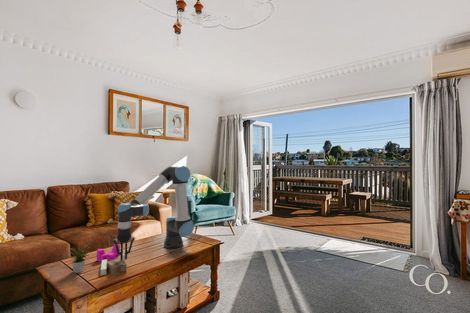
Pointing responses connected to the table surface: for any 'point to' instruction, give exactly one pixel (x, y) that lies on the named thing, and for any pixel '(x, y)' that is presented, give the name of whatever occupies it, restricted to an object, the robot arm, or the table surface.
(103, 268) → the board
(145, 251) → the table surface
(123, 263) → the walnut block
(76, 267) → the house plant
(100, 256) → the magenta arch bracket
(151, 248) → the table surface
